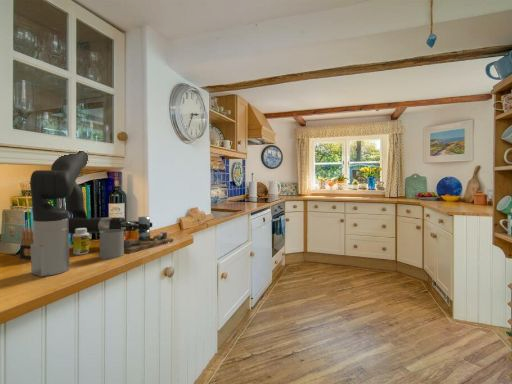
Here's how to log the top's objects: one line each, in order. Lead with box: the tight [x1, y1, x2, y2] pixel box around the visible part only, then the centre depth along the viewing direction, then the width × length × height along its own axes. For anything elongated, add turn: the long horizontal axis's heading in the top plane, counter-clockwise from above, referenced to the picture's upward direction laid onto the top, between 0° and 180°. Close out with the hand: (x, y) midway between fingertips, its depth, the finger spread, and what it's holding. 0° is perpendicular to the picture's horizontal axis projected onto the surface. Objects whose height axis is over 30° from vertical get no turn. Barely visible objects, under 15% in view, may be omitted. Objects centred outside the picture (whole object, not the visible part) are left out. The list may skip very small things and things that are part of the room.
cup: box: [99, 229, 125, 260], centre depth 107 cm, size 8×8×10 cm
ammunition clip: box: [19, 226, 34, 260], centre depth 102 cm, size 11×2×12 cm, turn 78°
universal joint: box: [137, 216, 151, 240], centre depth 124 cm, size 5×5×10 cm
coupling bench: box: [124, 231, 174, 254], centre depth 124 cm, size 24×10×4 cm, turn 152°
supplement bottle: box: [72, 228, 90, 256], centre depth 110 cm, size 6×6×10 cm
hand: (149, 225), depth 124 cm, fingers closed on universal joint, 5 cm apart
